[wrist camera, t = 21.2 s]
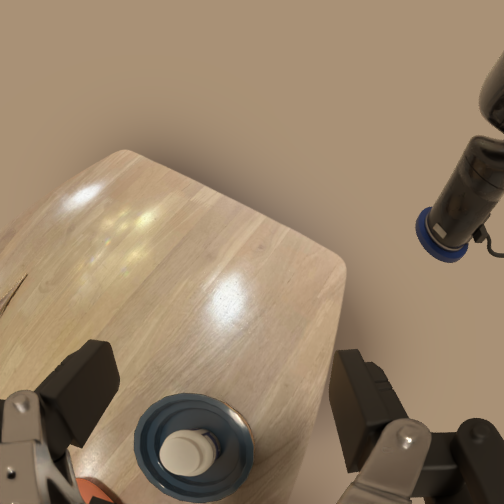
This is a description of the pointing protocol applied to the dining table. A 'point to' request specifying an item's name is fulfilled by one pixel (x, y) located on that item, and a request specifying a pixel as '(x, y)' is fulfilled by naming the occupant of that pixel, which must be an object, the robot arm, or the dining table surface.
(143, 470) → the bowl
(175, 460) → the pill bottle
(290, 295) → the dining table surface
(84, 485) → the teapot
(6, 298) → the jawbone
